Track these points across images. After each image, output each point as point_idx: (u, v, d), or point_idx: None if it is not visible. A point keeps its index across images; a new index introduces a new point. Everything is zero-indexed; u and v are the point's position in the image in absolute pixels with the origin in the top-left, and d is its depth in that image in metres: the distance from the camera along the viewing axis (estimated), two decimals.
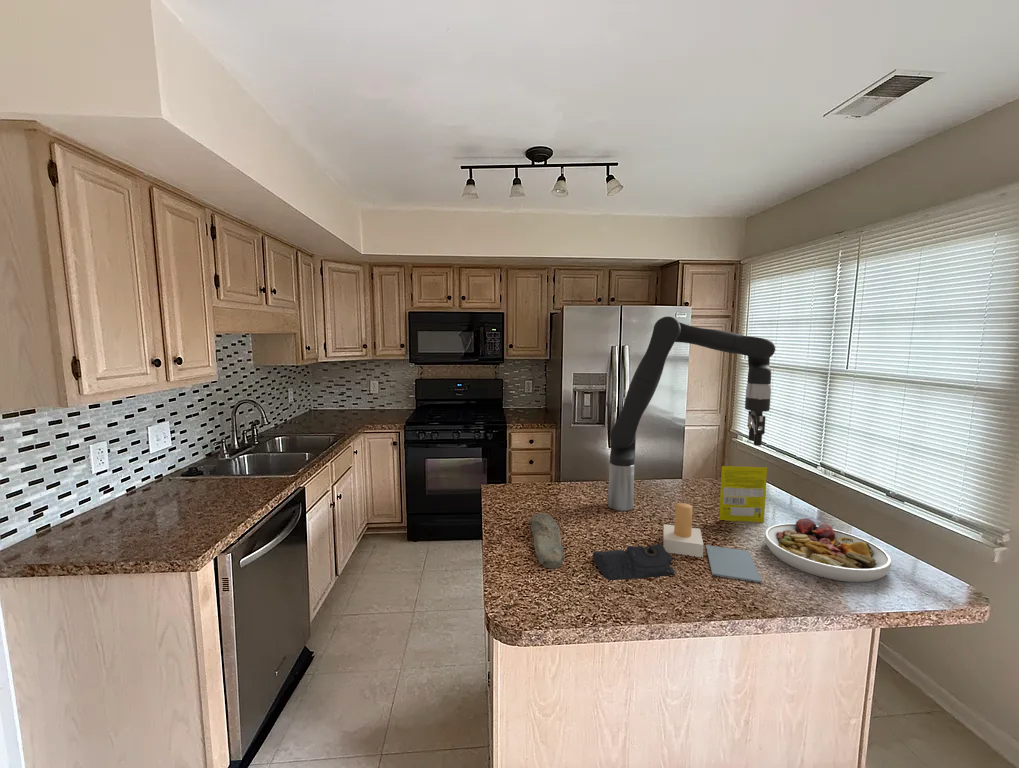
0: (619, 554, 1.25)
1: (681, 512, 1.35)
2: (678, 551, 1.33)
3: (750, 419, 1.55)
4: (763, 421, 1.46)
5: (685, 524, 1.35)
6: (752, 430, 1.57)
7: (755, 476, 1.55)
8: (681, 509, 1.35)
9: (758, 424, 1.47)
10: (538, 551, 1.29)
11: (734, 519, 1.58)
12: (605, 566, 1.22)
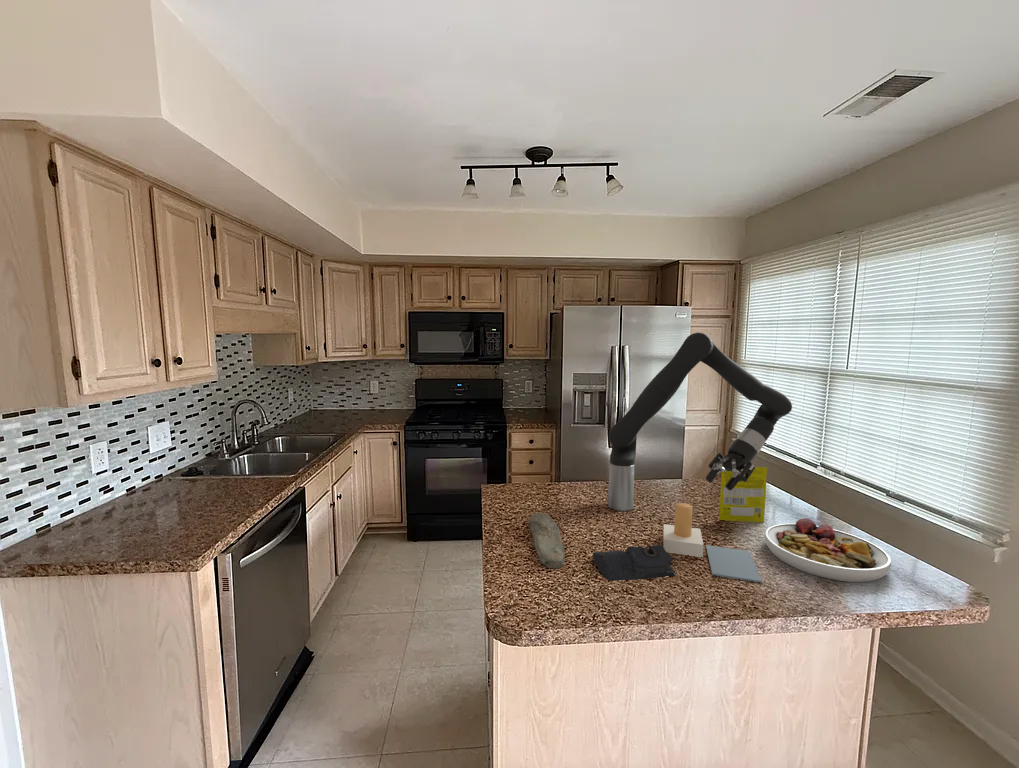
0: (619, 554, 1.25)
1: (681, 512, 1.35)
2: (678, 551, 1.33)
3: (726, 461, 1.42)
4: (751, 470, 1.35)
5: (685, 524, 1.35)
6: (714, 472, 1.44)
7: (755, 476, 1.55)
8: (681, 509, 1.35)
9: (747, 470, 1.34)
10: (540, 551, 1.29)
11: (734, 519, 1.58)
12: (605, 566, 1.21)
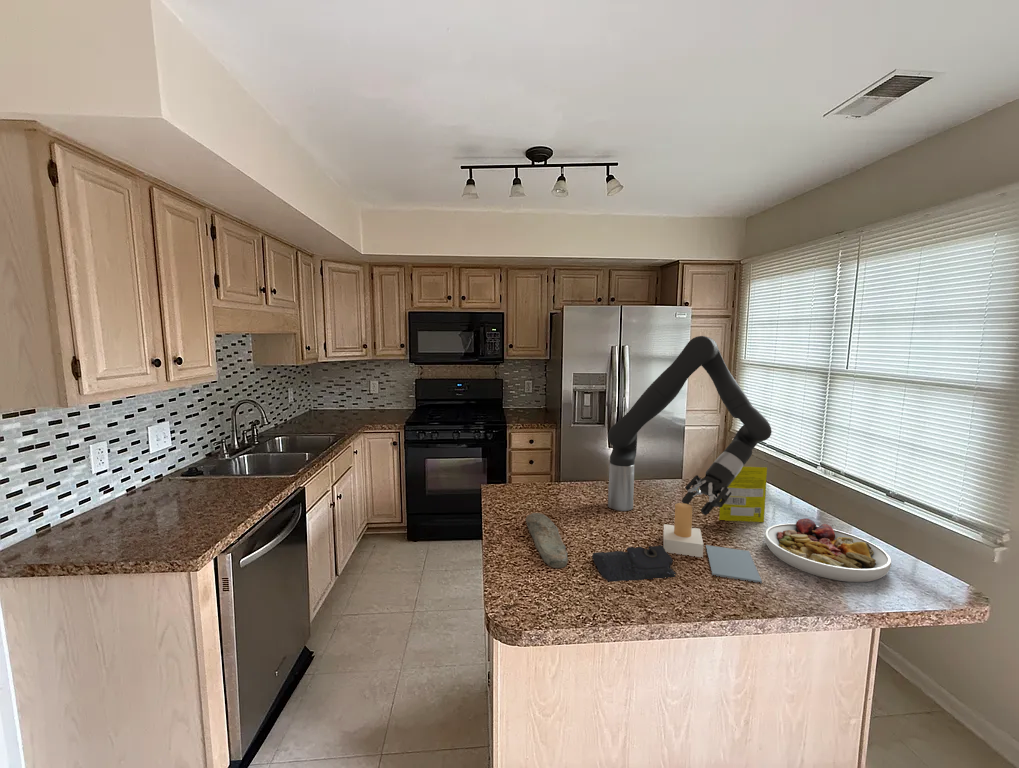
0: (619, 555, 1.25)
1: (681, 512, 1.35)
2: (678, 551, 1.33)
3: (703, 484, 1.40)
4: (728, 496, 1.33)
5: (685, 524, 1.35)
6: (691, 495, 1.42)
7: (755, 476, 1.55)
8: (681, 509, 1.35)
9: (723, 495, 1.32)
10: (543, 551, 1.29)
11: (734, 519, 1.58)
12: (604, 567, 1.21)
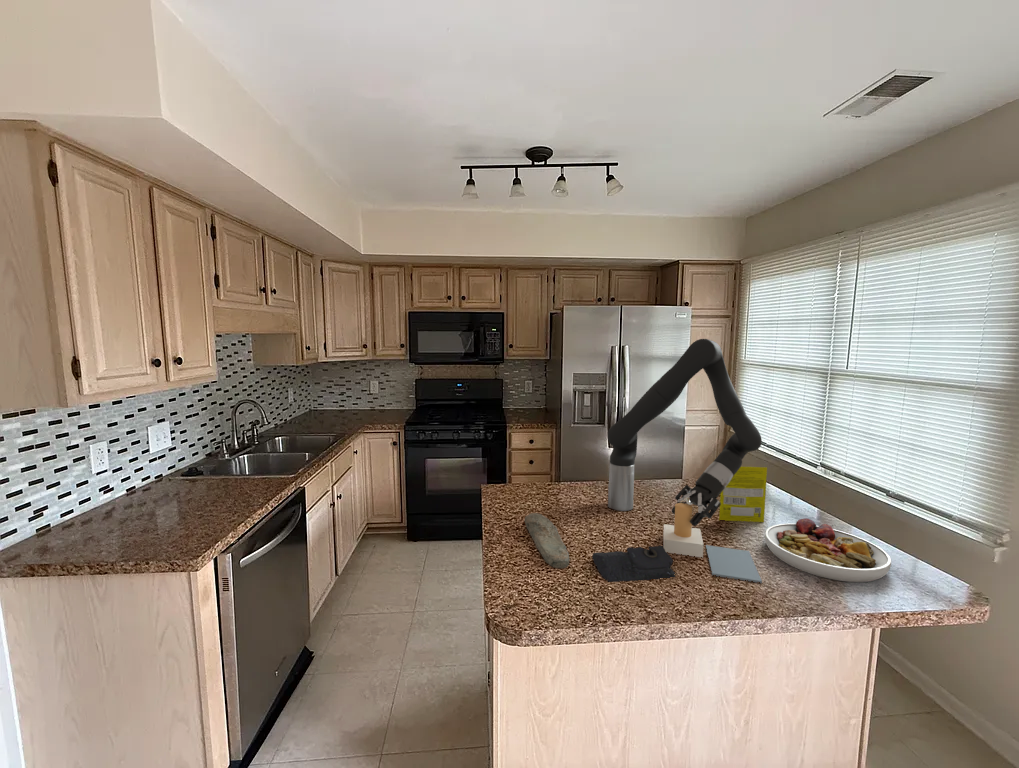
0: (619, 555, 1.24)
1: (681, 512, 1.35)
2: (678, 551, 1.33)
3: (692, 495, 1.39)
4: (717, 506, 1.32)
5: (685, 524, 1.35)
6: None
7: (755, 476, 1.55)
8: (681, 509, 1.35)
9: (712, 506, 1.31)
10: (545, 551, 1.29)
11: (734, 519, 1.58)
12: (604, 567, 1.21)
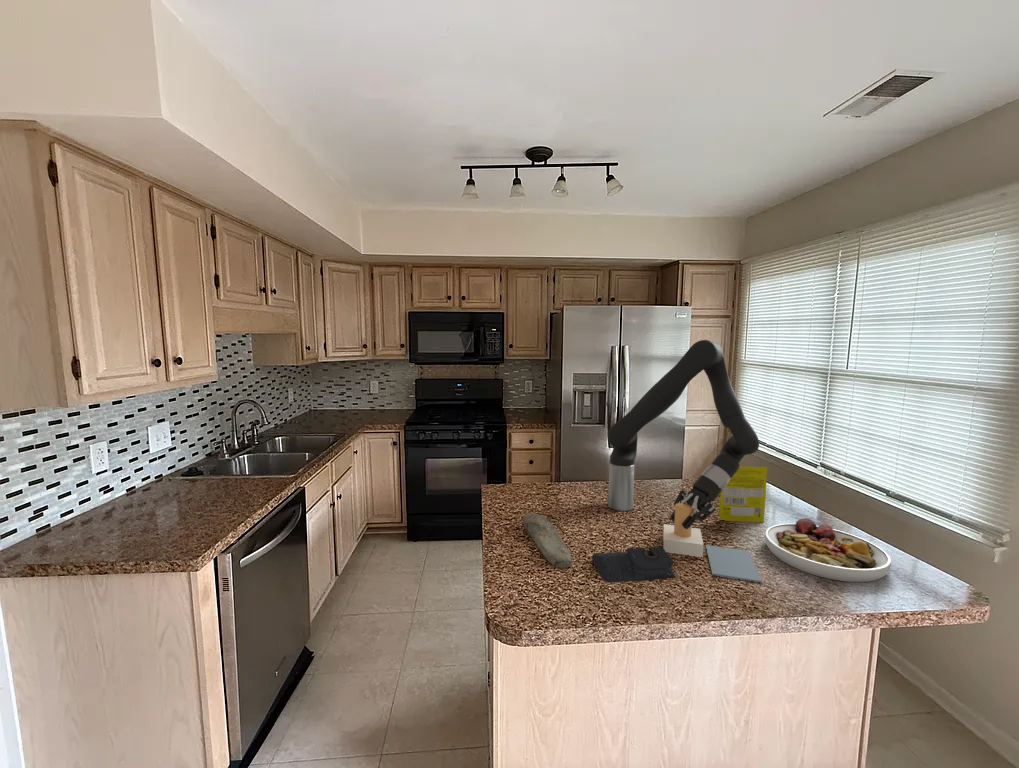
0: (619, 556, 1.24)
1: (681, 512, 1.35)
2: (678, 551, 1.33)
3: (690, 498, 1.38)
4: (710, 512, 1.32)
5: None
6: None
7: (755, 476, 1.55)
8: (681, 509, 1.35)
9: (705, 511, 1.32)
10: (547, 551, 1.29)
11: (734, 519, 1.58)
12: (604, 568, 1.21)
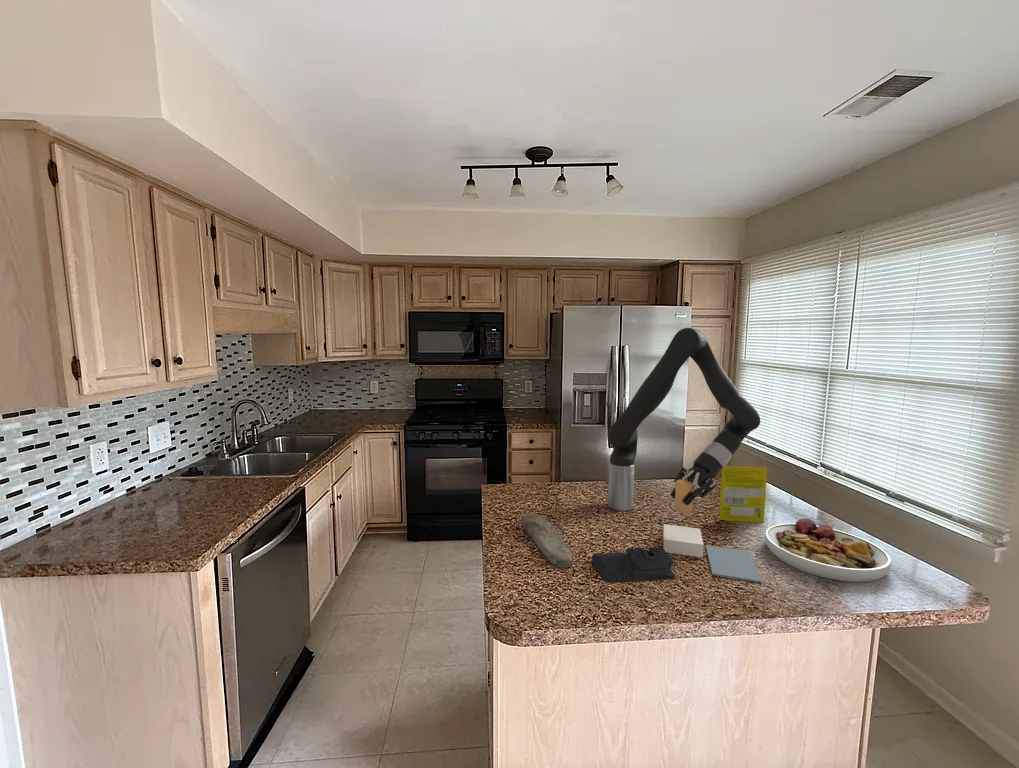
0: (619, 556, 1.24)
1: (682, 489, 1.34)
2: (678, 551, 1.33)
3: (691, 474, 1.38)
4: (711, 488, 1.31)
5: None
6: None
7: (755, 476, 1.55)
8: (682, 485, 1.34)
9: (706, 487, 1.31)
10: (548, 551, 1.29)
11: (734, 519, 1.58)
12: (604, 568, 1.20)
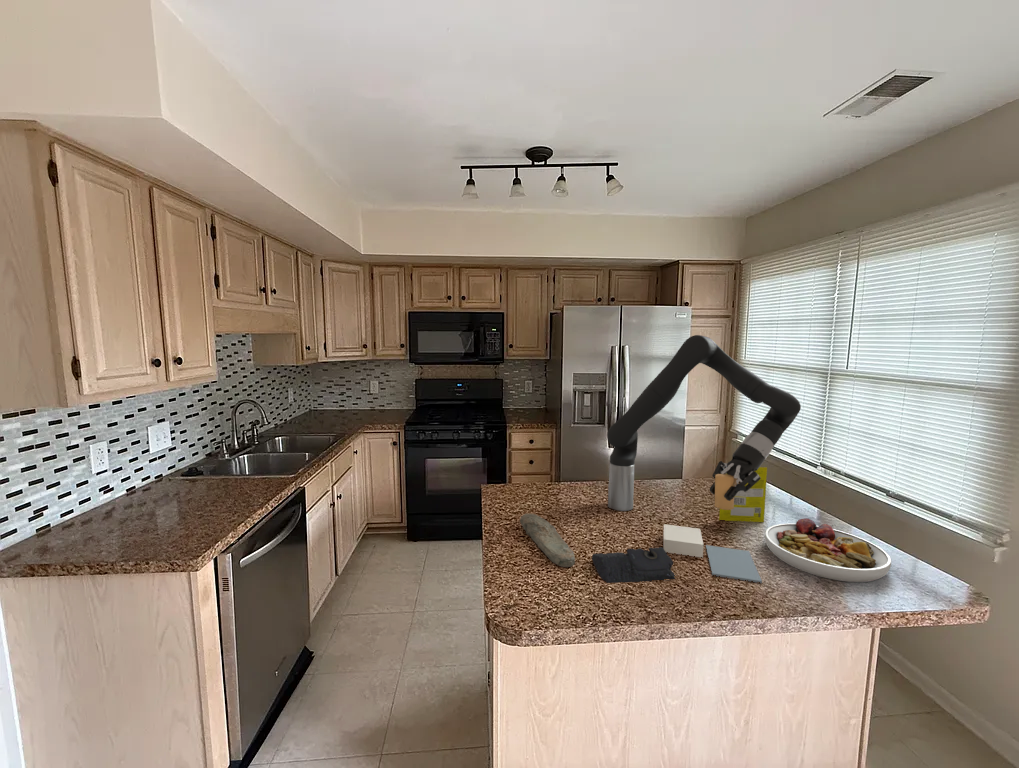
0: (618, 557, 1.24)
1: (723, 483, 1.25)
2: (678, 551, 1.33)
3: (731, 468, 1.29)
4: (755, 481, 1.23)
5: None
6: None
7: None
8: (722, 479, 1.25)
9: (750, 480, 1.22)
10: (550, 551, 1.29)
11: (734, 519, 1.58)
12: (604, 568, 1.20)
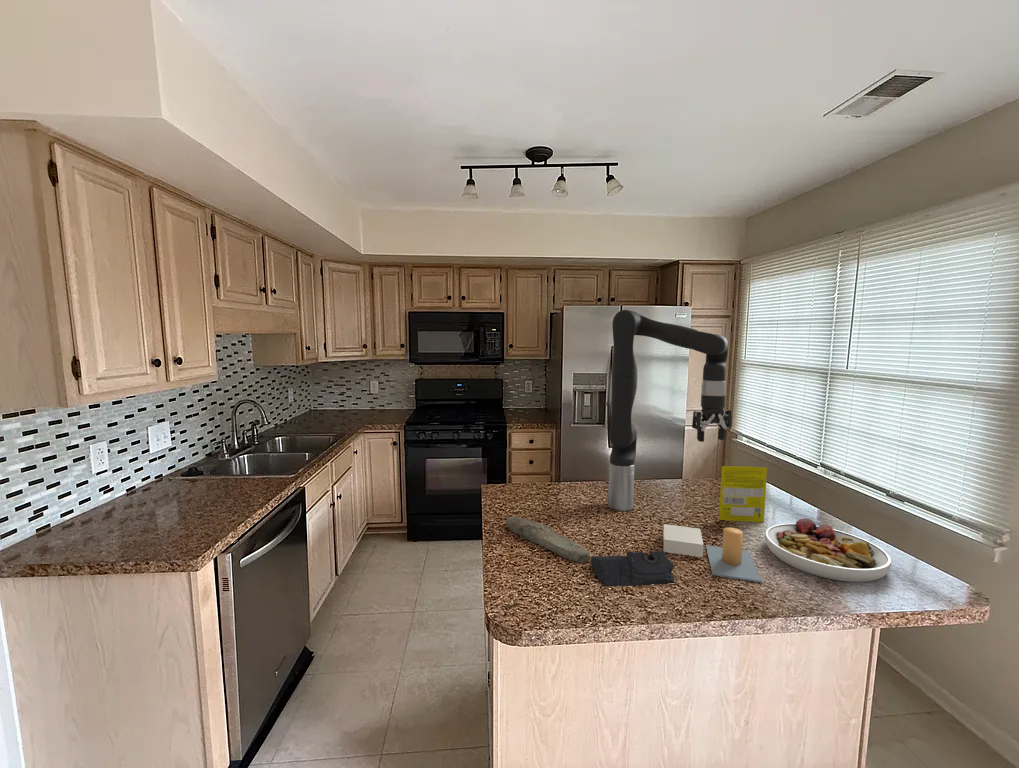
0: (618, 560, 1.22)
1: (731, 539, 1.24)
2: (678, 551, 1.33)
3: None
4: (697, 416, 1.48)
5: (735, 551, 1.24)
6: (720, 429, 1.52)
7: (755, 476, 1.55)
8: (731, 535, 1.24)
9: (693, 419, 1.49)
10: (564, 550, 1.30)
11: (734, 519, 1.58)
12: (602, 571, 1.19)
